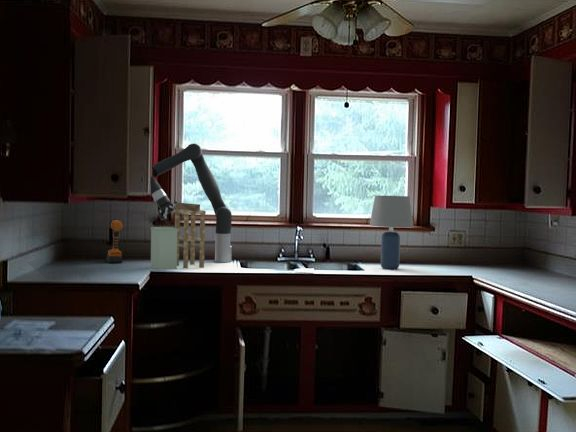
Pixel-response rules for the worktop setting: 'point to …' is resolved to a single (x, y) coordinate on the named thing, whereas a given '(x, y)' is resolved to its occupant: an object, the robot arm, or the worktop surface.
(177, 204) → the tan cardboard block
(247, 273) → the worktop surface
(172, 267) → the pale green block
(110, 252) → the power drill
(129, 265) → the worktop surface
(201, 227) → the stool
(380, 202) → the lamp
